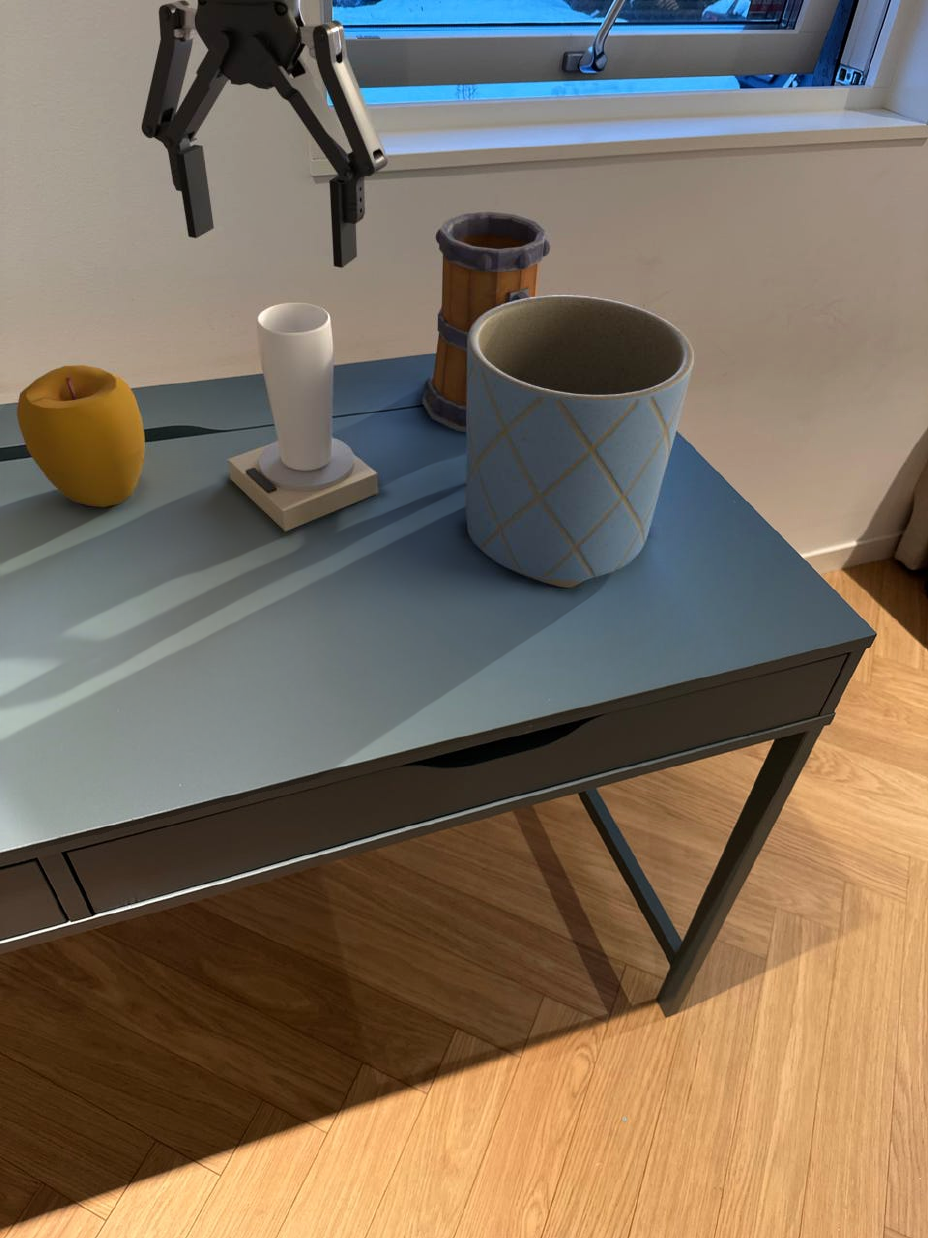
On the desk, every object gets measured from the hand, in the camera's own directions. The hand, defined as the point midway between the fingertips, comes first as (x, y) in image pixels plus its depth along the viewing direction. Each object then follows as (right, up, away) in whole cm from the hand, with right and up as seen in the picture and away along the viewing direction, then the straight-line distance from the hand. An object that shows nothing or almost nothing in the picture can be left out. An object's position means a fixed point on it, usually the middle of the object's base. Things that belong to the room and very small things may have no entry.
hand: (271, 247), depth 75 cm
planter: (+25, -22, +14) cm, 37 cm away
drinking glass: (0, -15, +17) cm, 22 cm away
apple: (-21, -18, +16) cm, 32 cm away
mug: (+20, -7, +31) cm, 37 cm away
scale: (-1, -17, +18) cm, 25 cm away
